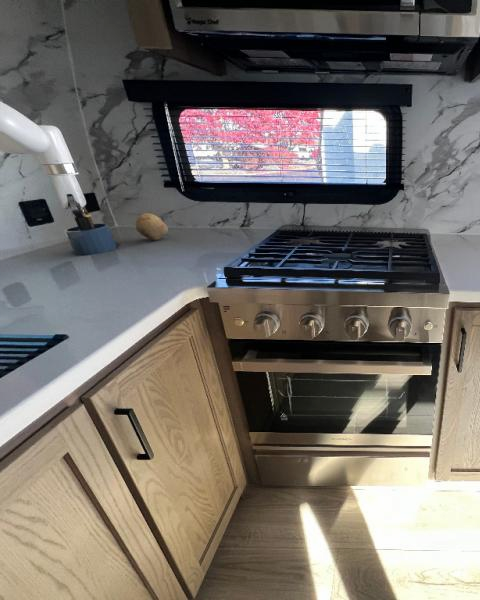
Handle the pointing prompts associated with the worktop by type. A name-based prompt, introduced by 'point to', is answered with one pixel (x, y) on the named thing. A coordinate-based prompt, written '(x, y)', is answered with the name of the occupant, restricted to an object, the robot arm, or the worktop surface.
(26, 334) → the worktop surface
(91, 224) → the coffee pod
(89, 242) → the canister
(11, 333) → the worktop surface
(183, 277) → the worktop surface
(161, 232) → the potato
